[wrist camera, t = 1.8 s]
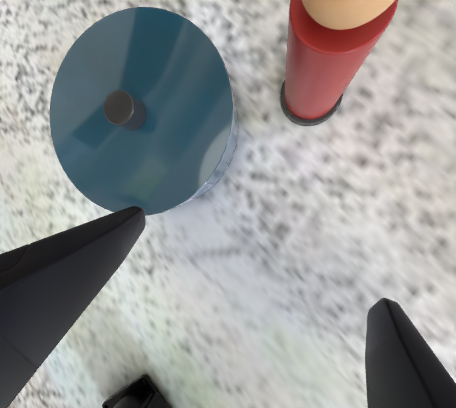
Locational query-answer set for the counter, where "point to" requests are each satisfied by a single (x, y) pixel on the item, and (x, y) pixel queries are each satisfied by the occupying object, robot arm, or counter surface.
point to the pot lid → (141, 111)
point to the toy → (328, 52)
